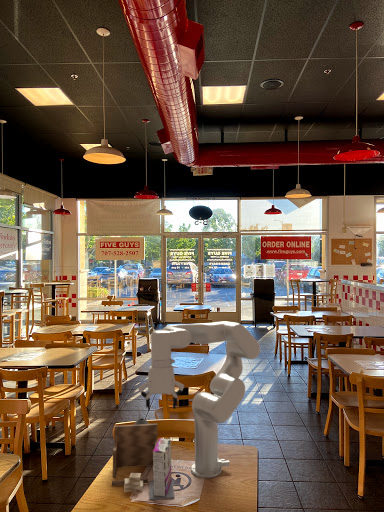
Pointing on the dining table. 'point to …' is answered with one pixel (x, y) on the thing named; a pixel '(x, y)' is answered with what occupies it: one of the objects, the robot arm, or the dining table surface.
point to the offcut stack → (133, 482)
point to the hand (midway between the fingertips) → (161, 408)
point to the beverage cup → (140, 420)
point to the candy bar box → (162, 467)
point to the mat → (169, 496)
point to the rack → (133, 447)
